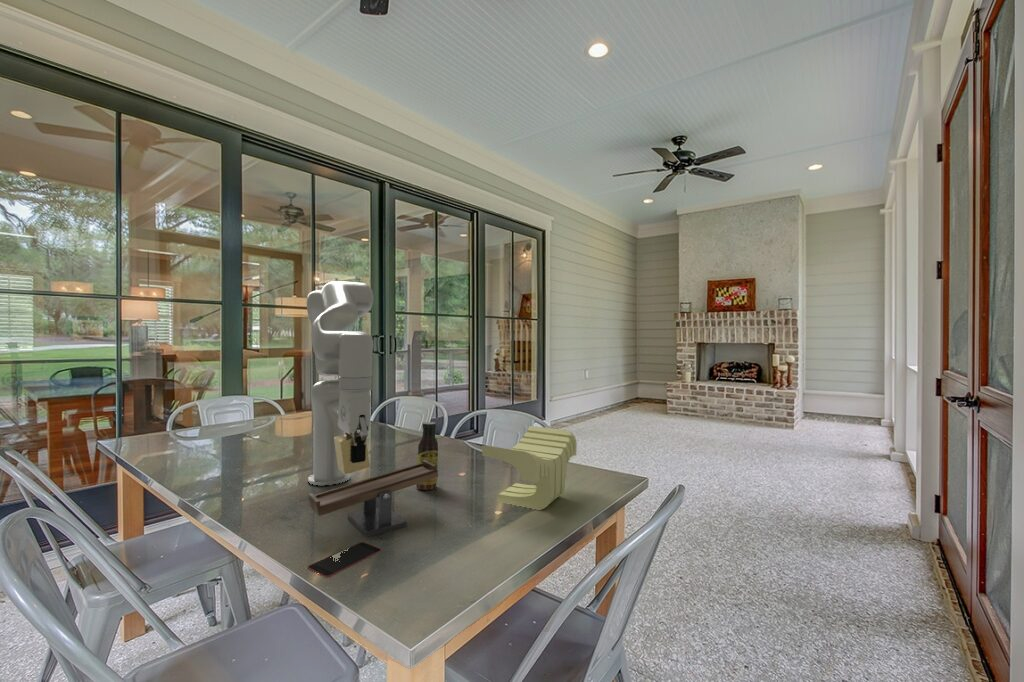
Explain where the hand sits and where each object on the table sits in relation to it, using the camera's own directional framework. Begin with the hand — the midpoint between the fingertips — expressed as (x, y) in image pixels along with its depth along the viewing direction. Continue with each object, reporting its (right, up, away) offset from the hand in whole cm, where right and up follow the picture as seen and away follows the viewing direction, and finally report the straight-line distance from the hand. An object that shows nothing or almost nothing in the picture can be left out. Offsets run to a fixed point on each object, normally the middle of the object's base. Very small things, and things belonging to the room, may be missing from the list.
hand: (354, 458), depth 111 cm
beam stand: (+4, -17, +3) cm, 18 cm away
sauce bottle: (+12, -17, +29) cm, 36 cm away
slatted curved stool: (+44, -17, +21) cm, 52 cm away
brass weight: (0, -2, 0) cm, 2 cm away
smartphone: (+3, -18, -15) cm, 24 cm away
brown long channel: (+5, -9, +3) cm, 10 cm away
